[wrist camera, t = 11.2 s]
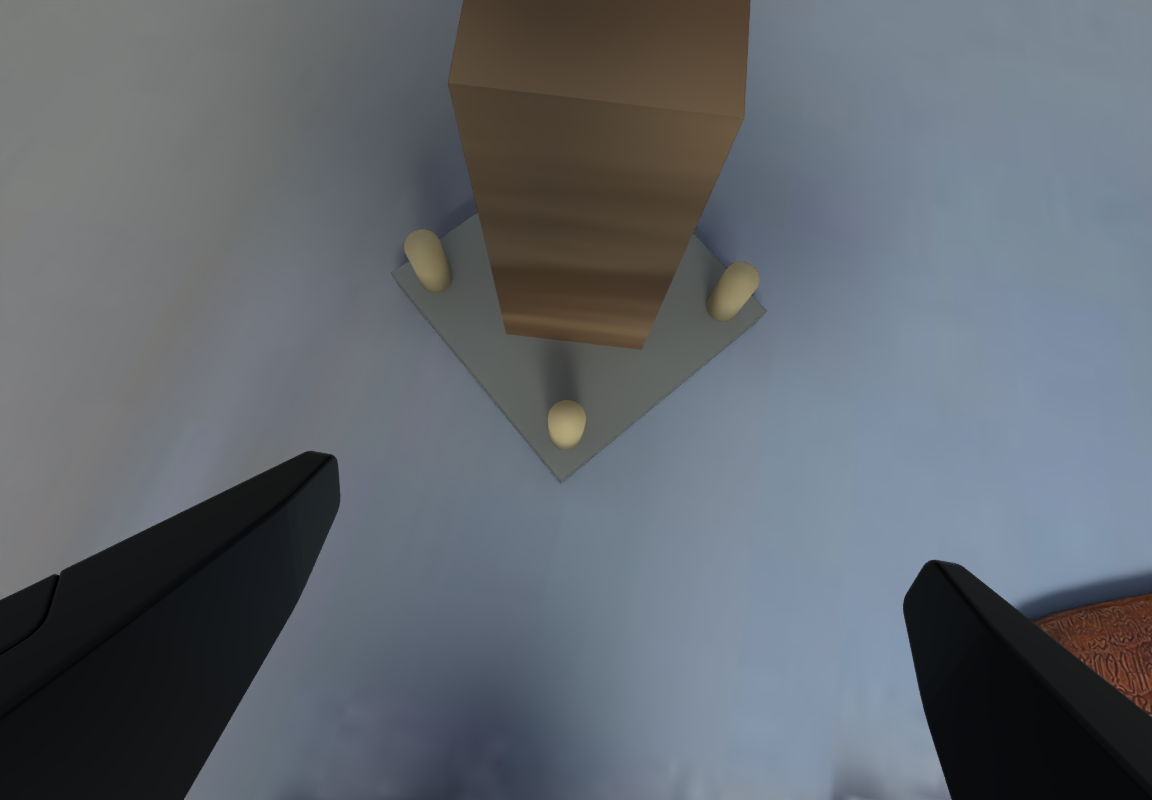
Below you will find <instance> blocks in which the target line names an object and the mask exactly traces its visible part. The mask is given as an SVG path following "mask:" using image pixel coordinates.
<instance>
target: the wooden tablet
mask: <svg viewBox="0 0 1152 800" xmlns="http://www.w3.org/2000/svg"><path fill="white" fill-rule="evenodd" d="M1032 622H1033V623H1034V624H1036V625H1037V626H1038V627H1039V628H1041V629H1042V630H1043V631H1044V632H1046V633H1047V634H1048V635H1049V636H1051V637H1052V638H1053V639H1055V640H1056V641H1057V642H1058V643H1060V644H1061V645H1062V646H1063V647H1065V648H1066V649H1067V650H1068V651H1070V652H1071V653H1072V654H1073V655H1075V656H1076V657H1077V658H1078V659H1080V660H1081V661H1082V662H1083V663H1085V664H1086V665H1087V666H1088V667H1090V668H1091V669H1092V670H1093V671H1095V672H1096V673H1097V674H1098V675H1100V676H1101V677H1102V678H1103V679H1105V680H1106V681H1107V682H1108V683H1110V684H1111V685H1112V686H1113V687H1115V688H1116V689H1117V690H1119V691H1120V692H1121V693H1122V694H1124V695H1125V696H1126V697H1127V698H1129V699H1130V700H1131V701H1132V702H1134V703H1135V704H1136V705H1137V706H1139V707H1140V708H1141V709H1142V710H1144V711H1145V712H1146V713H1147V714H1149V715H1150V716H1151V717H1152V593H1148V594H1144V595H1139V596H1134V597H1125V598H1118V599H1115V600H1111V601H1106V602H1100V603H1095V604H1091V605H1085V606H1078V607H1076V608H1073V609H1069V610H1063V611H1059V612H1055V613H1052V614H1050V615H1047V616H1045V617H1042V618H1040V619H1037V620H1033V621H1032Z"/></svg>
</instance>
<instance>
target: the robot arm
mask: <svg viewBox="0 0 1152 800" xmlns="http://www.w3.org/2000/svg"><path fill="white" fill-rule="evenodd" d="M339 505H340V484H339V470H338V461H337V459H336V457H335V456H333V455H332V454H326V453H321V452H315V451H307V452H304V453H302V454H300V455H298V456H296V457H294V458H292V459H290V460H287V461H285V462H283V463H281V464H279V465H277V466H275V467H273V468H271V469H269V470H267V471H265V472H263V473H261V474H259V475H257V476H255V477H253V478H251V479H249V480H246V481H244V482H242V483H240V484H238V485H236V486H234V487H232V488H230V489H228V490H226V491H224V492H222V493H220V494H218V495H216V496H214V497H212V498H210V499H208V500H205V501H203V502H201V503H199V504H197V505H195V506H193V507H191V508H189V509H187V510H185V511H183V512H181V513H179V514H177V515H175V516H173V517H171V518H169V519H167V520H164V521H162V522H160V523H158V524H156V525H154V526H152V527H150V528H148V529H146V530H144V531H142V532H140V533H138V534H136V535H134V536H132V537H130V538H128V539H126V540H123V541H121V542H119V543H117V544H115V545H113V546H111V547H109V548H107V549H105V550H103V551H101V552H99V553H97V554H95V555H93V556H91V557H89V558H87V559H84V560H82V561H80V562H78V563H76V564H74V565H72V566H70V567H68V568H66V569H64V570H62V571H61V573H60V575H57V574H54V575H51V576H49V577H47V578H45V579H43V580H41V581H39V582H37V583H35V584H33V585H31V586H29V587H27V588H25V589H23V590H21V591H18V592H16V593H14V594H12V595H10V596H8V597H6V598H3V599H1V600H0V800H184V798H185V797H186V795H187V793H188V791H189V790H190V788H191V786H192V784H193V783H194V781H195V779H196V778H197V776H198V774H199V772H200V771H201V769H202V767H203V765H204V764H205V762H206V760H207V759H208V757H209V755H210V753H211V752H212V750H213V748H214V746H215V745H216V743H217V741H218V740H219V738H220V736H221V734H222V733H223V731H224V729H225V727H226V726H227V724H228V722H229V720H230V719H231V717H232V715H233V714H234V712H235V710H236V708H237V707H238V705H239V703H240V701H241V700H242V698H243V696H244V695H245V693H246V691H247V689H248V688H249V686H250V684H251V682H252V681H253V679H254V677H255V676H256V674H257V672H258V670H259V669H260V667H261V665H262V663H263V662H264V660H265V658H266V657H267V655H268V653H269V651H270V650H271V648H272V646H273V644H274V643H275V641H276V639H277V637H278V636H279V634H280V632H281V631H282V629H283V627H284V625H285V624H286V622H287V620H288V618H289V617H290V615H291V613H292V611H293V610H294V608H295V606H296V604H297V602H298V600H299V598H300V596H301V594H302V592H303V590H304V588H305V585H306V583H307V581H308V579H309V576H310V574H311V572H312V569H313V567H314V565H315V562H316V560H317V558H318V556H319V553H320V551H321V549H322V546H323V544H324V542H325V540H326V537H327V535H328V533H329V530H330V528H331V526H332V523H333V521H334V519H335V517H336V514H337V512H338V509H339ZM903 612H904V618H905V623H906V628H907V633H908V637H909V642H910V647H911V652H912V657H913V662H914V667H915V672H916V677H917V682H918V686H919V691H920V696H921V700H922V704H923V708H924V712H925V716H926V719H927V722H928V726H929V729H930V732H931V736H932V739H933V742H934V745H935V748H936V751H937V755H938V758H939V761H940V764H941V767H942V771H943V774H944V777H945V780H946V783H947V786H948V790H949V793H950V796H951V799H952V800H1152V717H1151V716H1150V715H1149V714H1147V713H1146V712H1145V711H1144V710H1142V709H1141V708H1140V707H1139V706H1137V705H1136V704H1135V703H1134V702H1132V701H1131V700H1130V699H1129V698H1127V697H1126V696H1125V695H1124V694H1122V693H1121V692H1120V691H1119V690H1117V689H1116V688H1115V687H1113V686H1112V685H1111V684H1110V683H1108V682H1107V681H1106V680H1105V679H1103V678H1102V677H1101V676H1100V675H1098V674H1097V673H1096V672H1095V671H1093V670H1092V669H1091V668H1090V667H1088V666H1087V665H1086V664H1085V663H1083V662H1082V661H1081V660H1080V659H1078V658H1077V657H1076V656H1075V655H1073V654H1072V653H1071V652H1070V651H1068V650H1067V649H1066V648H1065V647H1063V646H1062V645H1061V644H1060V643H1058V642H1057V641H1056V640H1055V639H1053V638H1052V637H1051V636H1049V635H1048V634H1047V633H1046V632H1044V631H1043V630H1042V629H1041V628H1039V627H1038V626H1037V625H1036V624H1034V623H1033V622H1032V621H1031V620H1029V619H1028V618H1027V617H1026V616H1024V615H1023V614H1022V613H1021V612H1019V611H1018V610H1017V609H1016V608H1014V607H1013V606H1012V605H1011V604H1009V603H1008V602H1007V601H1006V600H1004V599H1003V598H1002V597H1001V596H999V595H998V594H997V593H996V592H994V591H993V590H992V589H991V588H989V587H988V586H987V585H986V584H984V583H983V582H982V581H980V580H979V579H978V578H977V577H975V576H974V575H973V574H972V573H970V572H969V571H968V570H967V569H965V568H964V567H963V566H961V565H959V564H956V563H951V562H946V561H940V560H930V561H928V562H927V563H925V565H924V566H923V568H922V569H921V571H920V572H919V574H918V576H917V577H916V579H915V580H914V582H913V584H912V585H911V587H910V589H909V590H908V592H907V593H906V595H905V598H904V602H903Z"/></svg>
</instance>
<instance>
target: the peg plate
mask: <svg viewBox="0 0 1152 800" xmlns="http://www.w3.org/2000/svg"><path fill="white" fill-rule="evenodd" d="M404 251H405V253H406V255H407V257H408V259H409V261H407V262H406V263H405V264H403V265H402V266H400V267H399V268H397V269H396V270H395V271H393V272H392V273H391V274H392V276H393V278H394V279H395V281H396V283H397V284H398V285H399V287H400V288H401V289H402V290H403V292H404V293H405V294H406V295H407V296H408V298H409V299H410V300H411V301H412V303H413V304H414V305H415V306H416V307H417V309H418V310H419V311H420V312H421V314H422V315H423V316H424V317H425V318H426V320H427V321H428V322H429V323H430V325H431V326H432V327H433V328H434V329H435V331H436V332H437V333H438V334H439V336H440V337H441V338H442V339H443V340H444V342H445V343H446V344H447V345H448V347H449V348H450V349H451V350H452V351H453V353H454V354H455V355H456V356H457V358H458V359H459V360H460V361H461V362H462V364H463V365H464V366H465V367H466V369H467V370H468V371H469V372H470V373H471V375H472V376H473V377H474V378H475V380H476V381H477V382H478V383H479V384H480V386H481V387H482V388H483V389H484V391H485V392H486V393H487V394H488V396H489V397H490V398H491V399H492V400H493V402H494V403H495V404H496V405H497V407H498V408H499V409H500V410H501V411H502V413H503V414H504V415H505V416H506V418H507V419H508V420H509V421H510V422H511V424H512V425H513V426H514V427H515V429H516V430H517V431H518V432H519V433H520V435H521V436H522V437H523V438H524V440H525V441H526V442H527V443H528V444H529V446H530V447H531V448H532V449H533V451H534V452H535V453H536V454H537V455H538V457H539V458H540V459H541V460H542V462H543V463H544V464H545V465H546V466H547V468H548V469H549V470H550V471H551V473H552V474H553V475H554V476H555V477H556V479H557V480H558V481H559V482H560V484H561V483H562V482H563V481H565V480H566V479H567V478H568V477H569V476H571V475H572V474H573V473H574V472H575V471H577V470H578V469H579V468H580V467H581V466H583V465H584V464H585V463H586V462H588V461H589V460H590V459H591V458H592V457H594V456H595V455H596V454H597V453H598V452H600V451H601V450H602V449H603V448H604V447H606V446H607V445H608V444H609V443H611V442H612V441H613V440H614V439H615V438H617V437H618V436H619V435H620V434H621V433H623V432H624V431H625V430H626V429H627V428H629V427H630V426H631V425H632V424H634V423H635V422H636V421H637V420H638V419H640V418H641V417H642V416H643V415H644V414H646V413H647V412H648V411H649V410H651V409H652V408H653V407H654V406H655V405H657V404H658V403H659V402H660V401H661V400H663V399H664V398H665V397H666V396H667V395H669V394H670V393H671V392H672V391H674V390H675V389H676V388H677V387H678V386H680V385H681V384H682V383H683V382H684V381H686V380H687V379H688V378H689V377H690V376H692V375H693V374H694V373H695V372H697V371H698V370H699V369H700V368H701V367H703V366H704V365H705V364H706V363H707V362H709V361H710V360H711V359H712V358H714V357H715V356H716V355H717V354H718V353H720V352H721V351H722V350H723V349H724V348H726V347H727V346H728V345H729V344H730V343H732V342H733V341H734V340H735V339H737V338H738V337H739V336H740V335H741V334H743V333H744V332H745V331H746V330H747V329H749V328H750V327H751V326H752V325H753V324H755V323H756V322H757V321H758V320H759V319H760V318H761V317H762V316H763V315H764V314H765V313H766V311H767V310H766V309H765V308H764V307H763V306H762V305H761V304H760V303H759V302H758V301H757V300H756V299H755V298H754V297H753V296H752V294H753V292H754V291H755V290H756V289H757V287H758V285H759V281H760V277H759V274H758V271H757V270H756V269H755V267H753V266H752V265H751V264H749V263H746V262H735V263H732V264H731V265H729V266H728V267H727V268H726V267H725V266H724V265H723V264H722V263H721V262H720V260H719V259H718V258H717V257H716V256H715V255H714V254H713V253H712V252H711V251H710V250H709V249H708V248H707V247H706V246H705V245H704V243H703V242H702V241H701V240H700V239H699V238H698V237H697V236H696V235H695V234H694V233H693V235H692V237H691V239H690V242H689V244H688V246H687V248H686V251H685V253H684V255H683V257H682V260H681V262H680V264H679V267H678V269H677V271H676V273H675V276H674V278H673V280H672V282H671V285H670V287H669V289H668V291H667V294H666V296H665V298H664V300H663V303H662V305H661V307H660V310H659V312H658V314H657V316H656V319H655V321H654V323H653V325H652V328H651V330H650V332H649V334H648V337H647V339H646V341H645V343H644V346H643V348H642V350H638V349H630V348H621V347H613V346H604V345H595V344H587V343H578V342H569V341H561V340H552V339H544V338H535V337H526V336H518V335H509V334H506V331H505V327H504V323H503V318H502V314H501V310H500V305H499V301H498V297H497V292H496V288H495V284H494V279H493V275H492V271H491V267H490V262H489V258H488V254H487V249H486V245H485V241H484V236H483V232H482V228H481V223H480V219H479V215H478V212H477V213H476V214H474V215H473V216H471V217H470V218H468V219H467V220H466V221H464V222H463V223H461V224H460V225H458V226H457V227H456V228H454V229H453V230H451V231H450V232H449V233H447V234H446V235H444V236H443V237H441V238H440V239H439V238H438V237H437V235H436V234H435V233H433V232H432V231H429V230H425V229H421V230H416V231H414V232H412V233H411V234H409V235H408V237H407V238H406V240H405V242H404Z"/></svg>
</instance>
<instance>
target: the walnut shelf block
mask: <svg viewBox="0 0 1152 800" xmlns="http://www.w3.org/2000/svg"><path fill="white" fill-rule="evenodd" d="M749 17H750V0H463V5H462V11H461V16H460V21H459V27H458V32H457V37H456V42H455V48H454V53H453V58H452V64H451V69H450V74H449V80H448V85H449V90H450V94H451V98H452V103H453V107H454V111H455V116H456V120H457V124H458V128H459V133H460V137H461V141H462V146H463V150H464V154H465V159H466V163H467V167H468V172H469V176H470V180H471V185H472V189H473V193H474V197H475V202H476V206H477V210H478V215H479V219H480V223H481V228H482V232H483V236H484V241H485V245H486V249H487V254H488V258H489V262H490V267H491V271H492V275H493V279H494V284H495V288H496V292H497V297H498V301H499V305H500V310H501V314H502V318H503V323H504V327H505V331H506V334H509V335H518V336H526V337H535V338H544V339H552V340H561V341H569V342H578V343H587V344H595V345H604V346H613V347H621V348H630V349H638V350H642V348H643V346H644V343H645V341H646V339H647V337H648V334H649V332H650V330H651V328H652V325H653V323H654V321H655V319H656V316H657V314H658V312H659V310H660V307H661V305H662V303H663V300H664V298H665V296H666V294H667V291H668V289H669V287H670V285H671V282H672V280H673V278H674V276H675V273H676V271H677V269H678V267H679V264H680V262H681V260H682V257H683V255H684V253H685V251H686V248H687V246H688V244H689V242H690V239H691V237H692V235H693V233H694V230H695V228H696V226H697V224H698V221H699V219H700V217H701V214H702V212H703V210H704V208H705V205H706V203H707V201H708V199H709V196H710V194H711V192H712V190H713V187H714V185H715V183H716V180H717V178H718V176H719V174H720V171H721V169H722V167H723V165H724V162H725V160H726V158H727V156H728V153H729V151H730V149H731V147H732V144H733V142H734V140H735V137H736V135H737V133H738V131H739V128H740V126H741V124H742V122H743V119H744V111H745V92H746V74H747V55H748V36H749Z"/></svg>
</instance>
